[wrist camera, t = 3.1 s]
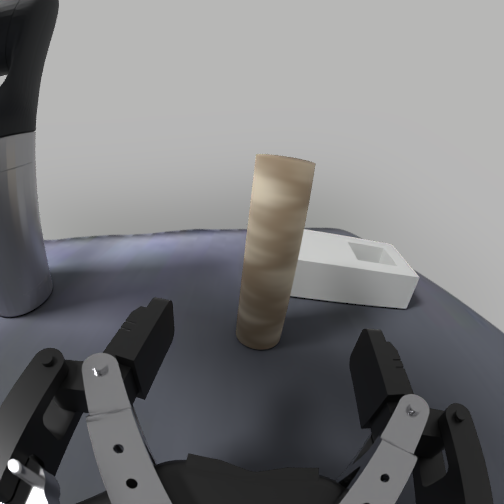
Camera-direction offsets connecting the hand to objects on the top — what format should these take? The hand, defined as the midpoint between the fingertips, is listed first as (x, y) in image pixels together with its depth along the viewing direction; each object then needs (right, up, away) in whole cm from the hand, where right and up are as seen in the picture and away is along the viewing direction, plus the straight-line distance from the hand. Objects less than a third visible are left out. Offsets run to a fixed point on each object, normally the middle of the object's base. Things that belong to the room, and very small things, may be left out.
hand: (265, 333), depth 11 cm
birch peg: (0, -4, +13) cm, 14 cm away
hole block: (+10, 0, +23) cm, 26 cm away
